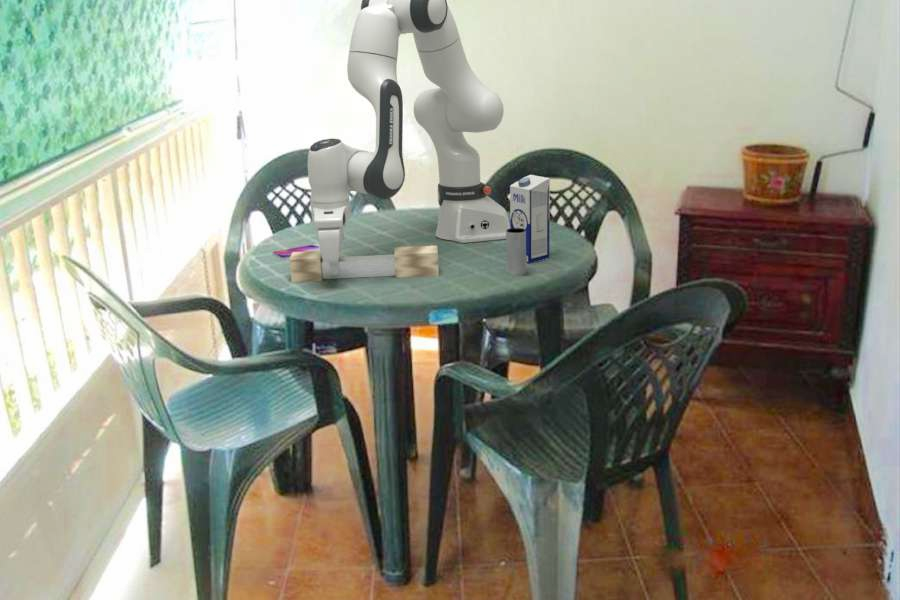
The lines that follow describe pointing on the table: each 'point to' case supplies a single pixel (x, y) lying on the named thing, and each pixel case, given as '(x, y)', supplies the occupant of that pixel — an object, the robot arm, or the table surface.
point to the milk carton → (532, 214)
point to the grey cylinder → (516, 251)
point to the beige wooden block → (305, 266)
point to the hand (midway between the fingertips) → (335, 269)
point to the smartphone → (288, 252)
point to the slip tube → (361, 267)
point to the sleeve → (416, 261)
